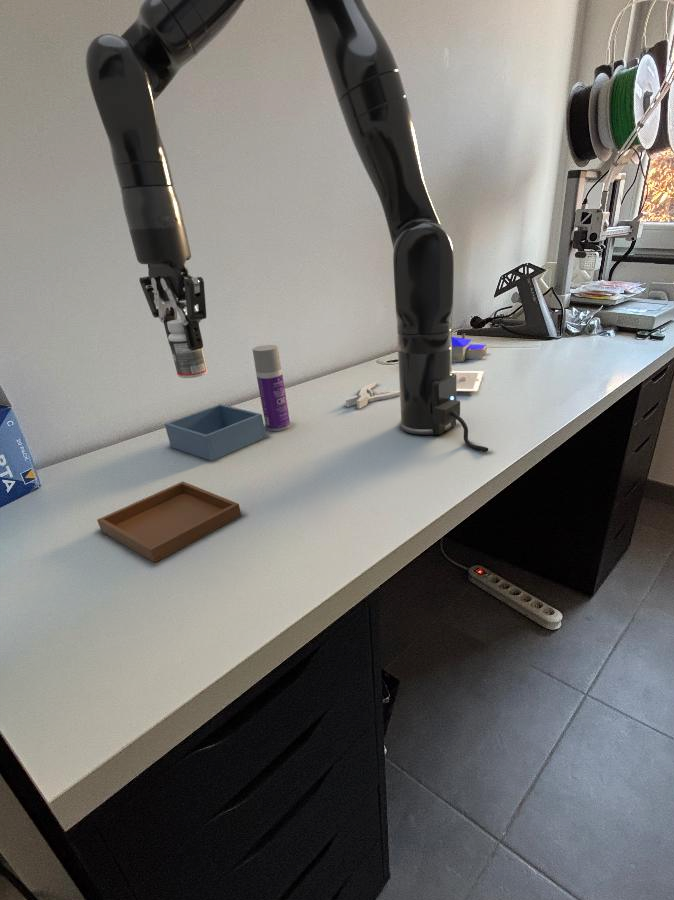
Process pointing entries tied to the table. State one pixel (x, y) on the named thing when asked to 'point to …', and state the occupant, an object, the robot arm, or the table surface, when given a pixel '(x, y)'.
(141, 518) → the tray
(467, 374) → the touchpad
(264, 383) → the container
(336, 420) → the table surface
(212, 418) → the storage box
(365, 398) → the pliers
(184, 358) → the pill bottle
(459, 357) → the house
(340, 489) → the table surface
